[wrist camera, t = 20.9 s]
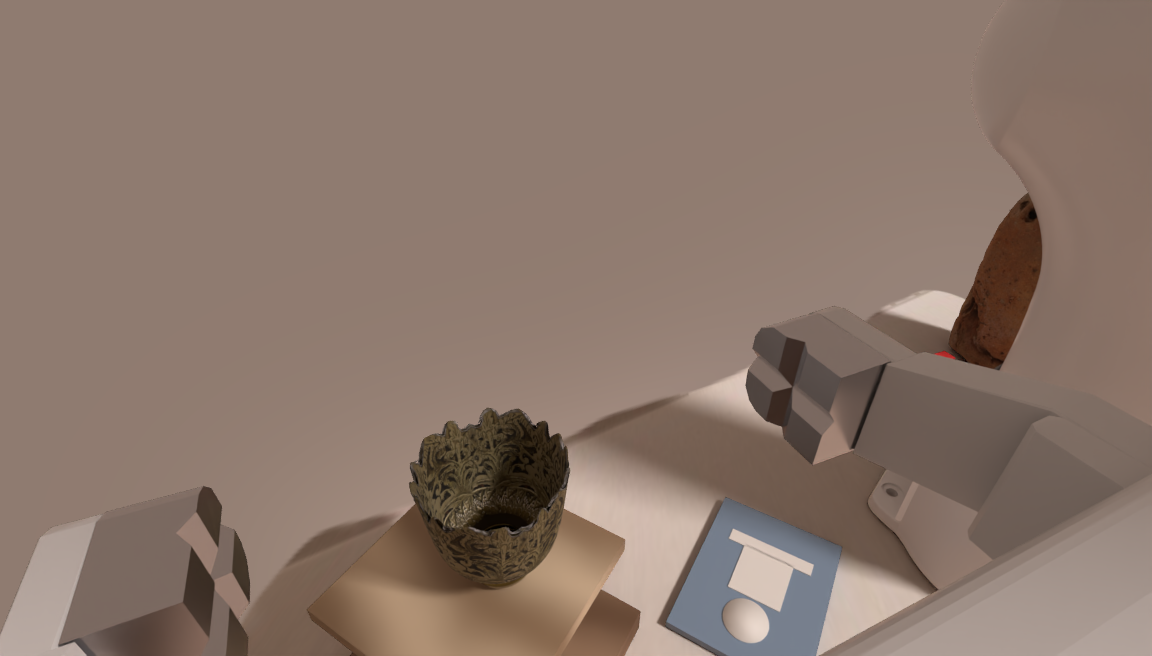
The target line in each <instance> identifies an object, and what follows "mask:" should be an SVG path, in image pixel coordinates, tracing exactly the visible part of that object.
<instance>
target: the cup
mask: <svg viewBox="0 0 1152 656" xmlns="http://www.w3.org/2000/svg"><path fill="white" fill-rule="evenodd" d="M481 416H482V417H481ZM481 418H482V420H481ZM480 421H481V423H480V424H478V425H472V424H468V425H467V427H466V428H464V429H460V428H459V427H458V425H457V424H456V423H457V422H456V421H448V422H447V423H446V424H445V426H444V428H443V432H442V434H432V435H430V436H428V437H426V438H424V439H423V441H422V444H421V448H420V452H419V460H418V463H416V462H417V461H415V462H412V463H410V470H411V473H412V476H413V480H414V481H413V482H412V483H411V482H410V483H409V487H410V492H411V495H412V496H413V498H414V501H415V503H416V505H417V507H418V509H419V512H420V514H421V516H422V519H423V521H424V523H425V526H426V528H427V530H428V533H429V535H430V537H431V539H432V541H433V543H434V545H435V547H436V549H437V550H438V552H439V554H440V555H441V557H442V558H443V559H444V561H445V562H446V563H447V564H448V565H449V566H450V567H451V568H452V569H453V570H454V571H455V572H457V573H458V574H459V575H461V576H463V577H465V578H466V579H469V580H471V581H474V582H478V583H481V584H483V585H484V586H487V587H490V588H494V589H503V588H508V587H511V586H513V585H515V584H517V583H519V582H520V581H521V580H523V579H524V578H525V576H526V575H527V574H528V573H530V572H531V571H533V570H534V569H535V568H536V567H537V566H538V565H540V563H541V562H542V561H543V560H544V559H545V558H546V556H547V555H548V553H549V552H550V550H551V548H552V547H553V545H554V542H555V540H556V537H557V535H558V531H559V528H560V524H561V519H562V515H563V509H564V503H565V496H566V490H567V483H568V478H569V473H570V468H568V467H569V461H568V449H567V447H566V446H565V447H564V444H563V440H562V437H561V435H560V434H559V433H558V434H555V435H553V436H552V437H551V438H550V436H549V431H548V424H547V422H546V421H542V422H539V423H537V425H536V426H537V427H536V426H535V425H534V424H533V423H532V422H531V420H530V418H529V417H528V416H527V415H526V414H525V413H524V412H523V411H521V410H520V409H514V410H510V411H508V412H506V413H504V414H502V415H498V413H497V411H496V410H494V409H491V408H487V409H485V410H484V411H483V412H482V414H481V415H480V420H479V422H480ZM479 422H478V423H479Z"/></svg>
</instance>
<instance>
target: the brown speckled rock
mask: <svg viewBox="0 0 1152 656" xmlns="http://www.w3.org/2000/svg"><path fill="white" fill-rule="evenodd" d="M1041 264H1042V238H1041V231H1040V225H1039V221H1038V217H1037V213H1036V211H1035V208H1034V205H1033V202H1032V200H1031V198H1030V196H1029V194H1028V193H1027V194H1026V195H1024V196H1023V197H1022V198H1021V199H1020V200H1019V201H1018V202H1017V203H1016V204H1015V206H1014V207H1013V208H1012V209H1011V210H1010V212H1009V214H1008V215H1007V216H1006V217H1005V218H1004V220H1003V221H1002V223H1001V224H1000V225H999V227H998V229H997V231H996V233H995V235H994V237H993V239H992V241H991V242H990V245H989V247H988V248H987V250H986V252H985V256H984V259H983V261H982V262H981V264H980V266H979V269H978V272H977V275H976V277H975V282H974V284H973V286H972V288H971V290H970V292H969V294H968V296H967V298H966V300H965V302H964V303H963V305H962V307H961V310H960V313H959V316H958V318H957V319H956V321H955V323H954V326H953V328H952V331H951V335H950V339H949V345H950V346H951V348H952V349H954V350H955V351H956V352H957V353H958V354H961V355H962V356H963V357H964V358H965V359H966V360H967V361H968V362H969V363H971V364H975V365H979V366H983V367H987V368H991V369H995V368H996V367H997V366H999V365H1001V364H1003V363H1004V361H1005V359H1006V357H1007V355H1008V353H1009V351H1010V349H1011V347H1012V345H1013V343H1014V340H1015V338H1016V336H1017V334H1018V332H1019V330H1020V327H1021V325H1022V322H1023V320H1024V318H1025V315H1026V313H1027V310H1028V308H1029V305H1030V302H1031V300H1032V297H1033V294H1034V292H1035V289H1036V286H1037V283H1038V280H1039V275H1040V271H1041Z"/></svg>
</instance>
